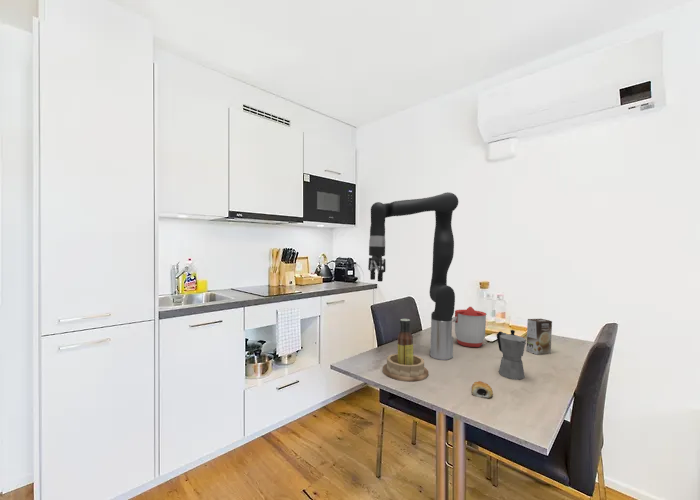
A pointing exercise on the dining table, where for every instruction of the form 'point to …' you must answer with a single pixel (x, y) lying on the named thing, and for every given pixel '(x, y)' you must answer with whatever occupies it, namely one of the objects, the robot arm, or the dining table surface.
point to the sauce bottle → (405, 343)
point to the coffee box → (539, 336)
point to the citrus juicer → (470, 327)
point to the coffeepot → (511, 355)
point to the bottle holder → (405, 369)
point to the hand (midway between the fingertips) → (376, 280)
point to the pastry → (482, 390)
